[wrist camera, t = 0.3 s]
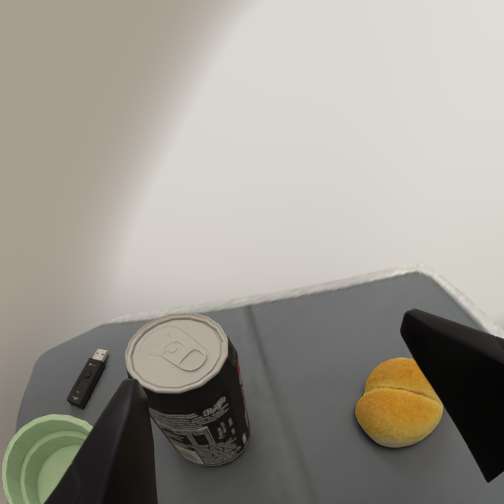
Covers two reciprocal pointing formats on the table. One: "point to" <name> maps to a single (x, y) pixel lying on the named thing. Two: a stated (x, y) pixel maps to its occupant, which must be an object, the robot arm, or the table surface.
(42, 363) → the table surface
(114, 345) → the table surface
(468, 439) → the robot arm
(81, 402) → the usb flash drive
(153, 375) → the beverage can
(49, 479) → the bowl
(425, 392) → the bread roll
